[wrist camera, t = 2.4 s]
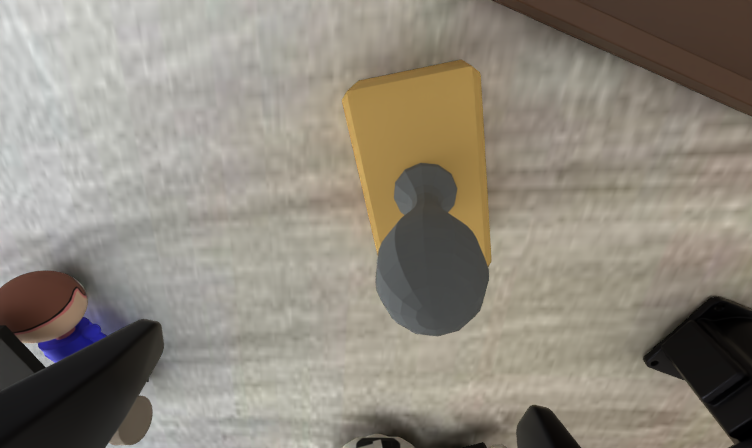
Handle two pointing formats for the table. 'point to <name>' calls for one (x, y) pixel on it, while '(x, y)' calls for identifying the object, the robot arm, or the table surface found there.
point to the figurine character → (53, 335)
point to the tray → (665, 38)
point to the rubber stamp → (425, 191)
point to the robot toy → (394, 443)
